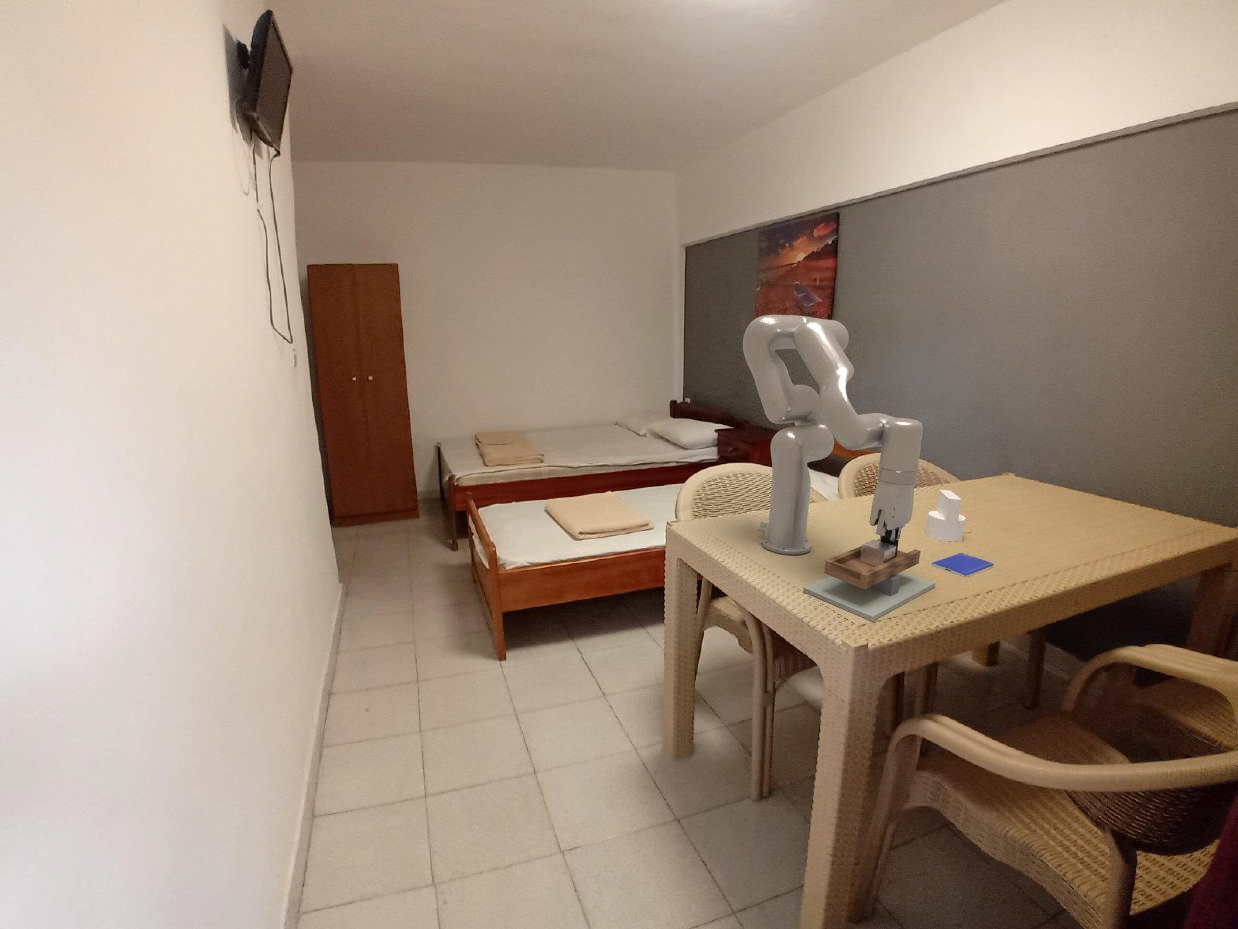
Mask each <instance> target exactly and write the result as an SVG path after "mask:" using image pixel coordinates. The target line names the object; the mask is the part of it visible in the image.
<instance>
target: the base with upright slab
mask: <svg viewBox="0 0 1238 929" xmlns="http://www.w3.org/2000/svg"><path fill="white" fill-rule="evenodd" d="M961 506H962V499H961V498H960V497H959V496H958V495H957V494H956V493H955V492H953V491H952V490H945V489H939V490H938V496H937V501H936V508H935V510H930V511H928V514H927V518H926V519H927V521H926V527H925V535H926V536H927V537H928V538H930V537H931V539H932V538H933V540H935V539H937V540H936V541H939V540H940V541H939V542H944V541H949V542H948V543H955V542H954V541H959V542H961V540H962V541H963V537H964V530H965V525H966V519H967V518H966V516H964V515H962V514H961V513H960V511H961ZM950 541H951V542H950Z"/></svg>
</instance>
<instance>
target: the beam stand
mask: <svg viewBox="0 0 1238 929" xmlns="http://www.w3.org/2000/svg"><path fill="white" fill-rule="evenodd" d="M935 587H936V582H935V581H931V580H929V579H926V578H922V577H919V576H916V575H914V574H911V573H908V572H905V571H902V572H900V573H898V574H896V575H894V576H892V577H890V578H887V579H885V580H883V581H881V582H879V583H877V584H875V585H873V586H871V587H869V588H867V589H863V588H860V587H857V586H855V585H852V584H850V583H847V582H845V581H842V580H839V579H837V578H834V577H832V576H828V577H824V578H822V579H821V580H819V581H815V582H813V583H811V584H808V585H806V586H804V587H803V590H802V592H803V593H804V594H808V595H810V596H812V597H813V598H816V599H819V600H822V601H824V602H825V603H826V602H827V603H828V604H831V605H833V606H836V607H837V608H839V609H843V610H845V611H847V612H850V613H851V614H854V615H855V616H856V615H857V616H859V617H861V618H862V619H865V620H868V621H870V622H873V621H875V620H877V619H879V618H881V617H883V616H884V615H886V614H888V613H890V612H892V611H893V610H895V609H897V608H899V607H901V606H903V605H905V604H907V603H909V602H910V601H912V600H914V599H916V598H918V597H919V596H921V595H923V594H924V593H927V592H928V591H930V590H932V589H934V588H935Z"/></svg>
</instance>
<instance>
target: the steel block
mask: <svg viewBox="0 0 1238 929" xmlns="http://www.w3.org/2000/svg"><path fill="white" fill-rule="evenodd" d="M861 546H862V551H861V559H860V562H863V563H866V564H868V565H871V566H874V567H877V566H879V565H881V564H883V563H886V562H888V561H890V560H892V559H895V552H896V546H894V545H891V544H888V543H884V542H881V541H878V539H872V540H869V541H867V542H865V543H863V544H862V545H861Z"/></svg>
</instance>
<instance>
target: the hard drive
mask: <svg viewBox="0 0 1238 929" xmlns="http://www.w3.org/2000/svg"><path fill="white" fill-rule="evenodd" d="M931 566H932V567H933V568H936V569H939V568H940V569H939V570H942V571H944V572H947V573H950V572H951V573H950V574H953V575H956V576H958V575H959V576H958V577H961V576H962V577H961V578H963V577H964V579H966V578H969V577H971V576H974V575H976V573H977V574H979V573H982V572H984V571H983V570H985V571H987V570H988V569H987V568H990V569H992V568H994V563H993V562H991V561H988V560H986V559H985V560H984V559H982V558H979V557H976V556H973V555H970V554H967V553H963V552H959V553H956V554H953V555H950V556H947V557H945V558H941V559H939V560H935V561H933V562H931ZM991 567H992V568H991ZM986 569H987V570H986ZM981 571H982V572H981ZM978 572H979V573H978ZM970 575H971V576H970Z"/></svg>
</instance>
